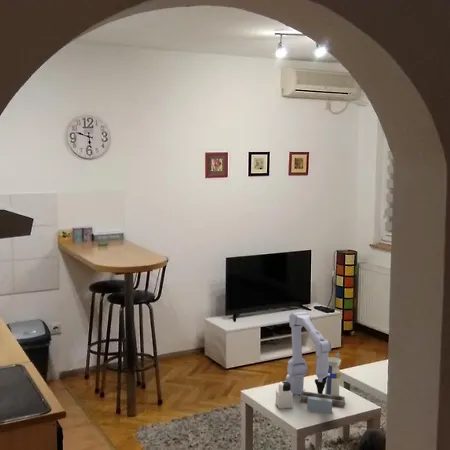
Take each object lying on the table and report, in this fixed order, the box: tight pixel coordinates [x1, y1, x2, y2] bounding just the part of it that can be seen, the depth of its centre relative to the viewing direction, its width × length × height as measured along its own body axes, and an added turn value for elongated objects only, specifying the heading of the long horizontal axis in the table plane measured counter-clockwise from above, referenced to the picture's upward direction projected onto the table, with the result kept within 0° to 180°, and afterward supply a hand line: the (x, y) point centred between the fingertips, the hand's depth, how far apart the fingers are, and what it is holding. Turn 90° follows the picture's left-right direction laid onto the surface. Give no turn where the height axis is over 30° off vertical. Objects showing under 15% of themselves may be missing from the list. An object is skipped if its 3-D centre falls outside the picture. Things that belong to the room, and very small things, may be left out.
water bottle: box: [324, 351, 342, 396], centre depth 324 cm, size 8×9×25 cm
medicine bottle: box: [275, 380, 294, 409], centre depth 309 cm, size 7×7×12 cm
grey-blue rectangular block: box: [306, 396, 333, 414], centre depth 304 cm, size 12×3×6 cm, turn 74°
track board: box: [299, 391, 346, 409], centre depth 315 cm, size 22×8×3 cm, turn 74°
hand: (321, 390), depth 304 cm, fingers open, 7 cm apart
